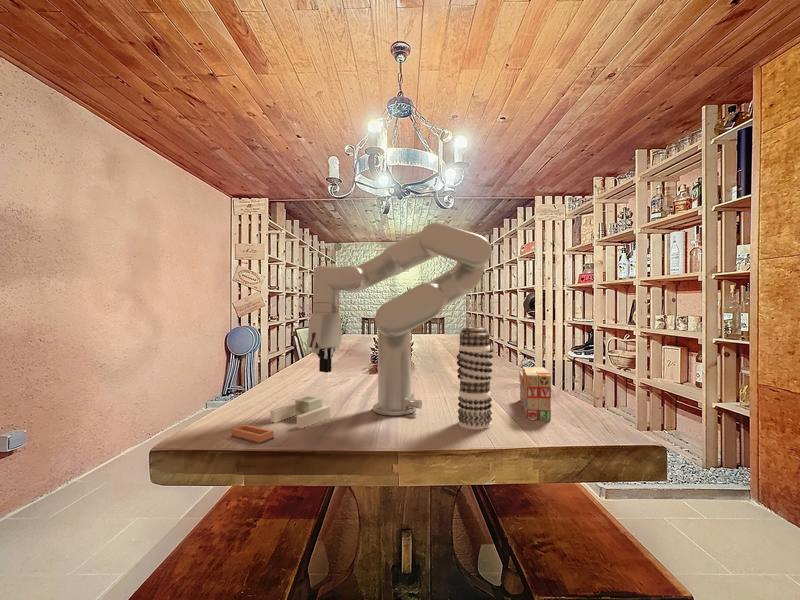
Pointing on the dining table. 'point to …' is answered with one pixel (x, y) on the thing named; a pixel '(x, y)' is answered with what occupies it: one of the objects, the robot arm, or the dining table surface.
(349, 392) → the dining table surface
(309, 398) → the sage block
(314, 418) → the walled channel
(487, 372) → the decorative candle
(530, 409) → the stack of blocks
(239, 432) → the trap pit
